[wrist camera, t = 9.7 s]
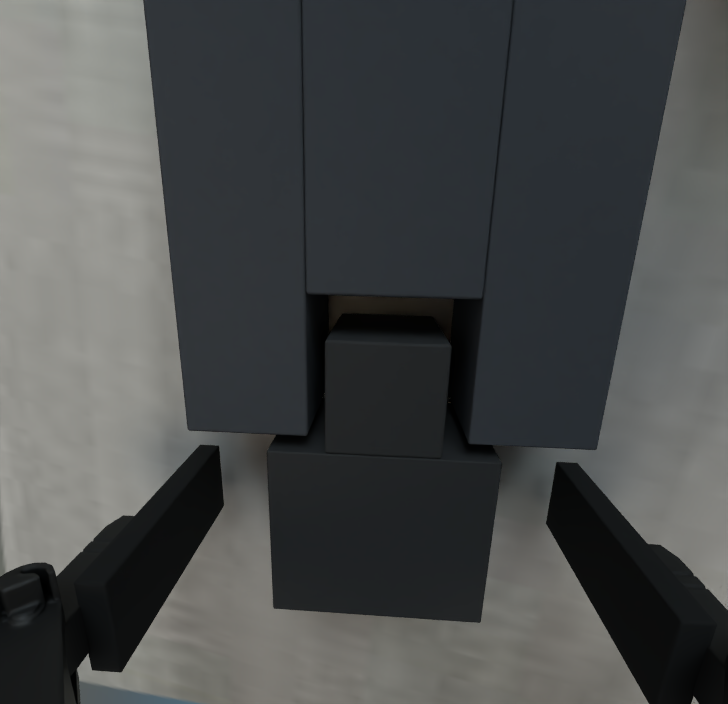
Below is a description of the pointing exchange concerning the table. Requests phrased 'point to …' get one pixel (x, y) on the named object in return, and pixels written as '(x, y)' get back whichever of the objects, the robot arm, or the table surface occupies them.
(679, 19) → the base tile
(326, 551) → the dark stepped block
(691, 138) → the table surface
